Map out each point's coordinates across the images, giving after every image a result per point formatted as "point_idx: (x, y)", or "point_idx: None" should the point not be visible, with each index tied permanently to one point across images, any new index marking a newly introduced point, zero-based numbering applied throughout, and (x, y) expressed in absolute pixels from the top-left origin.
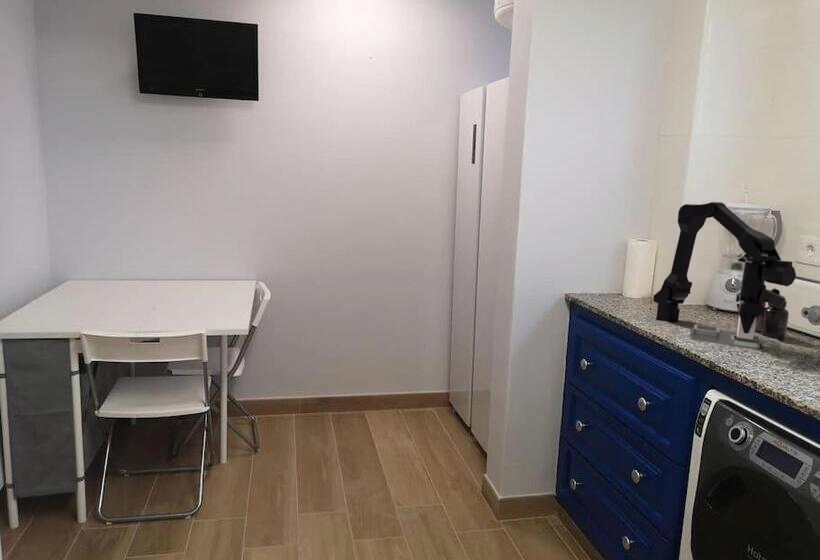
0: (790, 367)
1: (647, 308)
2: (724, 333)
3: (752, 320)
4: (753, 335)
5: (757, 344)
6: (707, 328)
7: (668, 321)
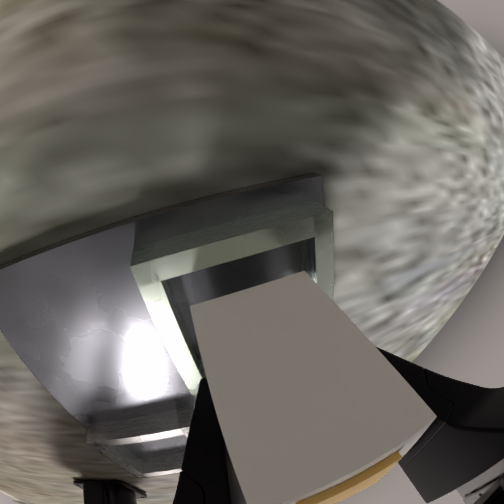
0: (463, 76)
1: (47, 496)
2: (91, 407)
3: (453, 387)
4: (322, 291)
5: (329, 221)
6: (121, 451)
7: (130, 489)
